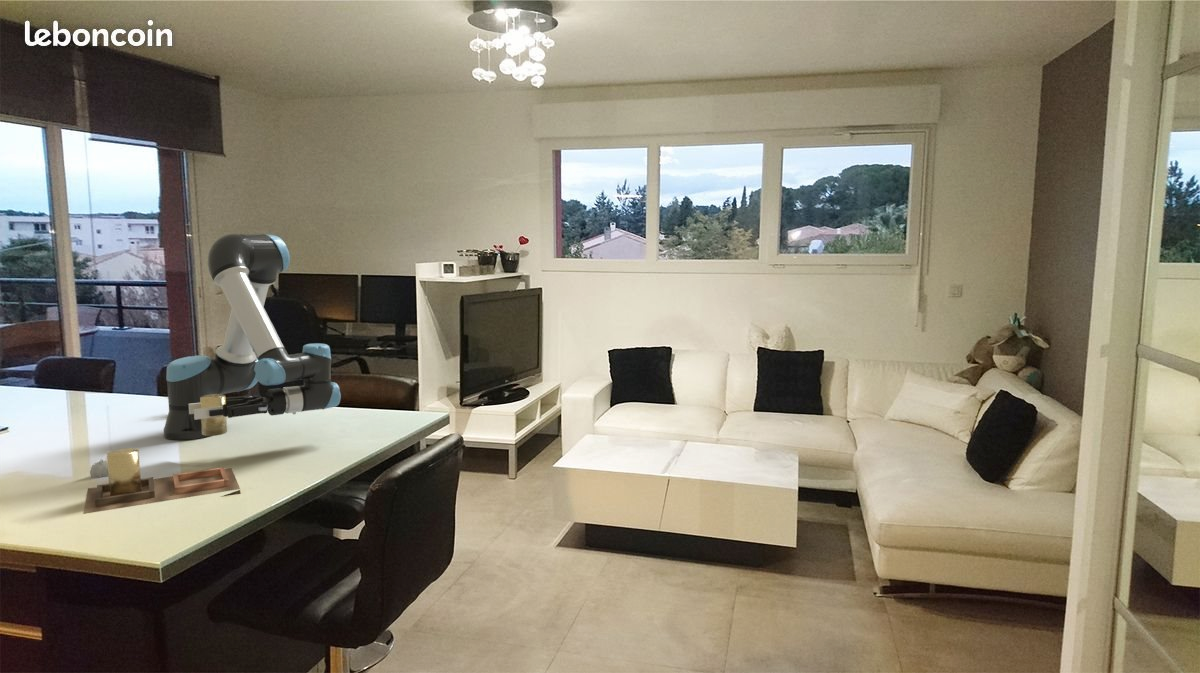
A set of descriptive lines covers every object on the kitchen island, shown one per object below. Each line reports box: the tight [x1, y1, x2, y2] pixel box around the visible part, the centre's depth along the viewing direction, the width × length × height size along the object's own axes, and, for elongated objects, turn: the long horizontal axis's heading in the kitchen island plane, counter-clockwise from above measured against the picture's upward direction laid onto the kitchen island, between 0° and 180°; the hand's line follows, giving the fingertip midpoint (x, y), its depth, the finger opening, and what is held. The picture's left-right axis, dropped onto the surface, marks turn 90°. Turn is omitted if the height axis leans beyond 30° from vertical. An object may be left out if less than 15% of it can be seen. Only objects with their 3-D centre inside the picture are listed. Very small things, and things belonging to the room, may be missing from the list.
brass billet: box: [200, 394, 228, 437], centre depth 190 cm, size 6×6×10 cm
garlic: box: [89, 459, 109, 478], centre depth 175 cm, size 6×5×5 cm
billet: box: [106, 447, 142, 496], centre depth 161 cm, size 6×6×10 cm
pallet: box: [83, 466, 241, 515], centre depth 166 cm, size 30×18×3 cm, turn 123°
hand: (191, 411), depth 187 cm, fingers closed on brass billet, 6 cm apart
